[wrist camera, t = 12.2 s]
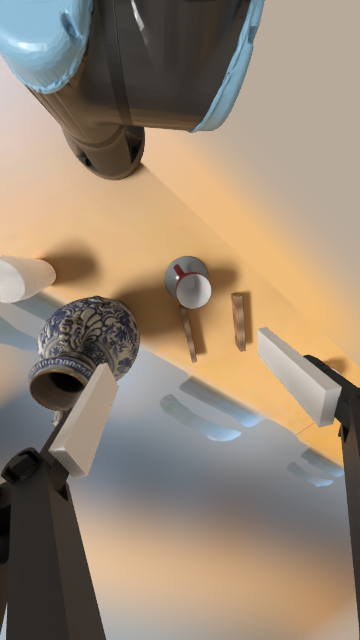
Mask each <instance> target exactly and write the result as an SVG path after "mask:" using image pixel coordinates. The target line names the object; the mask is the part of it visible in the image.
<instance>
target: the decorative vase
mask: <svg viewBox="0 0 360 640" xmlns="http://www.w3.org/2000/svg"><path fill="white" fill-rule="evenodd" d="M139 344H140V335H139V329H138V326H137V323H136V321H135V319H134V317H133V315H132V314H131V311H130V309H129V308H128V307H127V306H126V305H125V304H124V303H122V302H120V301H117V300H112V299H108V298H103V297H100V296H93V297H89V298H83V299H80V300H76V301H74V302H71V303H69V304H67V305H65V306H63V307H61V308H60V309H58V310H57V311H56V312H55V313H53V314H52V315H51V316H50V317H49V319H48V320H47V321H46V322H45V324H44V325H43V327H42V329H41V331H40V333H39V337H38V343H37V346H38V353H39V357H40V359H41V361H39V362H38V363H36V364H35V365H34V366H33V367H32V369H31V371H30V373H29V377H28V381H29V388H30V393H31V395H32V397H33V398H34V399H35V400H36V401H37V402H38V403H39V404H41V405H42V406H44V407H45V408H48V409H51V410H55V411H56V413H55V417H54V419H53V421H52V426H54V427H56V426H57V425H58V423H59V421H60V419H61V418H62V416H63V415H64V414H65V413H66V412H67V411H68V409H69V408H72V407H74V406H75V404H76V403H77V401H78V399H79V397H80V396H81V394H82V392H83V391H84V389H85V387H86V385H87V384H88V382H89V380H90V379H91V377H92V375H93V373H94V372H95V370H96V368H97V367H98V365H100V364H105V363H107V364H108V366H109V368H110V370H111V372H112V374H113V376H114V378H115V380H116V381H117V380H119V379H120V378H122V377H123V376H124V375H125V374H126V373H127V372H128V371H129V369H130V368H131V366H132V364H133V363H134V361H135V359H136V356H137V353H138V350H139Z"/></svg>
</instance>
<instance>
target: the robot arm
mask: <svg viewBox="0 0 360 640" xmlns="http://www.w3.org/2000/svg"><path fill="white" fill-rule="evenodd" d="M263 6H264V0H0V54H1V56H2V57H3V58H4V60H5V61H6V63H7V65H8V66H9V68H10V69H11V71H12V72H13V73H14V74H15V75H16V76H17V78H18V79H19V80H20V81H21V82H22V83H23V84H24V85H25V86H26V87H27V88H28V89H29V90H30V92H31V93H32V94H33V95H34V96H35V97H36V98H37V99H38V100H39V102H40V103H41V104H42V105H43V106H44V107H45V108H46V109H47V110H48V112H49V113H50V114H51V115H52V116H53V117H54V118H55V119H56V120H57V122H58V123H59V124H60V125H61V127H62V130H63V133H64V135H65V138H66V140H67V142H68V144H69V146H70V148H71V150H72V151H73V153H74V154H75V156H76V157H77V158H78V159H79V161H80V162H81V163H82V164H83V165H84V166H85V167H86V168H87V169H88V170H90V171H91V172H92V173H94V174H95V175H97V176H99V177H101V178H104V179H108V180H119V179H123V178H125V177H127V176H128V175H130V174H131V173H132V172H133V171H134V170H135V169H136V168H137V166H138V165H139V163H140V161H141V158H142V155H143V152H144V146H145V132H144V127H150V128H162V129H174V130H185V131H188V132H190V133H193V132H196V131H213V130H215V129H217V128H218V127H220V126H221V125H222V124H223V122H224V121H225V120H226V118H227V117H228V115H229V113H230V112H231V109H232V107H233V105H234V103H235V101H236V99H237V96H238V94H239V91H240V89H241V86H242V83H243V80H244V78H245V75H246V72H247V69H248V65H249V62H250V59H251V55H252V51H253V40H254V37H255V35H256V32H257V30H258V27H259V24H260V19H261V14H262V10H263ZM257 335H258V356H259V357H260V358H261V359H262V361H263V362H264V363H265V364H266V365H267V367H268V368H269V369H270V370H271V371H272V372H273V374H274V375H275V376H276V377H277V378H278V380H279V381H280V382H281V383H282V384H283V385H284V387H285V388H286V389H287V390H288V391H289V392H290V394H291V395H292V396H293V397H294V398H295V400H296V401H297V402H298V403H299V404H300V405H301V407H302V408H303V409H304V410H305V411H306V412H307V414H308V415H309V416H310V417H311V418H312V420H313V421H314V422H315V423H316V424H317V425H318V427H322V426H326V425H331V424H333V421H334V417H335V418H336V419H337V420H338V421H339V422H340V423H341V426H340V430H339V433H338V436H339V437H341V440H342V451H343V462H344V472H345V483H346V493H347V504H348V514H349V525H350V536H351V546H352V556H353V568H354V578H355V589H356V599H357V610H358V621H359V633H360V388H358V387H356V386H355V385H353V384H352V383H351V382H349V381H348V380H347V379H345V378H344V377H343V376H341V375H340V374H338V373H337V372H336V371H334V370H332V368H330V367H329V366H328V365H326V364H325V363H323V362H322V361H321V360H319V359H318V358H315V357H313V356H311V355H305V356H302V355H301V354H299V353H298V352H297V351H296V350H294V349H293V348H292V347H291V346H289V345H288V344H287V343H286V342H284V341H283V340H282V339H281V338H279V337H278V336H277V335H275V334H274V333H273V332H272V331H270V330H269V329H268V328H267V327H265V328H260V329H257ZM117 390H118V384H117V382H116V380H115V378H114V376H113V374H112V372H111V370H110V368H109V366H108V364H107V363H105V364H100V365H98V367H97V368H96V370H95V372H94V373H93V375H92V377H91V379H90V380H89V382H88V384H87V385H86V387H85V389H84V391H83V392H82V394H81V396H80V397H79V399H78V401H77V403H76V404H75V406H74V407H72V408H69V409H68V411H67V412H66V413H65V414H64V415H63V416H62V418H61V419H60V421H59V423H58V425H57V426H56V427H55V429H54V431H53V432H52V434H51V435H50V437H49V439H48V440H47V442H46V444H45V445H44V447H43V448H42V450H41V452H40V453H38V452H37V451H36V450H35V449H34V448H31V447H30V448H27V449H24V450H22V451H21V452H19V453H18V454H17V455H15V456H14V457H13V458H12V459H11V460H10V461H9V462H8V463H7V464H6V466H5V467H4V469H3V471H2V473H1V477H3V478H4V479H5V480H6V482H4V483H2V484H0V632H1V628H2V624H3V619H4V614H5V610H6V605H7V629H6V640H106V637H105V633H104V629H103V625H102V621H101V617H100V612H99V609H98V604H97V600H96V596H95V592H94V588H93V584H92V580H91V576H90V571H89V568H88V563H87V559H86V555H85V551H84V547H83V543H82V539H81V535H80V531H79V526H78V522H77V518H76V514H75V510H74V506H73V502H72V498H71V493H70V489H69V485H68V484H67V482H66V480H67V477H68V475H69V474H70V475H71V476H72V477H73V478H74V479H76V478H81V477H86V476H88V473H89V470H90V467H91V464H92V461H93V458H94V456H95V453H96V450H97V447H98V444H99V441H100V438H101V435H102V433H103V430H104V427H105V424H106V421H107V418H108V415H109V413H110V409H111V407H112V404H113V401H114V398H115V395H116V392H117ZM359 635H360V634H359ZM359 640H360V636H359Z"/></svg>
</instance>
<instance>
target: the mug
mask: <svg viewBox="0 0 360 640" xmlns="http://www.w3.org/2000/svg"><path fill="white" fill-rule="evenodd" d="M173 268H174V270H175V272H176V273H177V275H178V276H179V279H178V281H177V283H176V287H175V292H176V297H177V299H178V301H179V303H180V304H181V305H182V306H184V307H186V308H189V309H197V308H200V307H202V306H204V305H205V304H206V303H207V302H208V301H209V299H210V297H211V292H212V288H211V284H210V282H209V281H208V279H207V278H206V277H205V276H203V275H202V274H200V273H197V272H188V273H184V272H183V270H182V269H181V268H180V266H179V265H178V264H176V265H175V266H174V267H173Z"/></svg>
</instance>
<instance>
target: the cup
mask: <svg viewBox="0 0 360 640" xmlns="http://www.w3.org/2000/svg"><path fill="white" fill-rule="evenodd" d="M55 279H56V273H55V270H54V269H53V267H52V266H51V265H50V264H49V263H48V262H46V261H44V260H41V259H33V258H24V257H15V256H5V255H2V256H0V302H3V303H13V302H16V301H20V300H24V299H27V298H30V297H31V296H33V295H35V294H36V293H38V292H40V291H41V290H43V289H45V288H46V287H48V286H50V285H51V284H53V283H54V281H55Z"/></svg>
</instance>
